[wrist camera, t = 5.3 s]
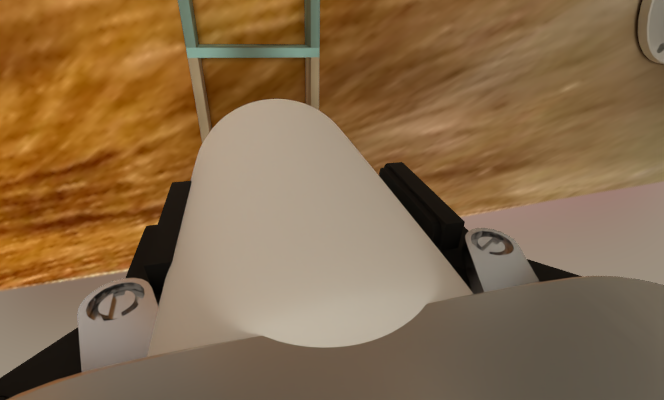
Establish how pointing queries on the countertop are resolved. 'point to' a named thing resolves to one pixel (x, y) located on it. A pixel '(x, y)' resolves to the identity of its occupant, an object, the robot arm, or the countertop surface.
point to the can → (293, 240)
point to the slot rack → (250, 56)
